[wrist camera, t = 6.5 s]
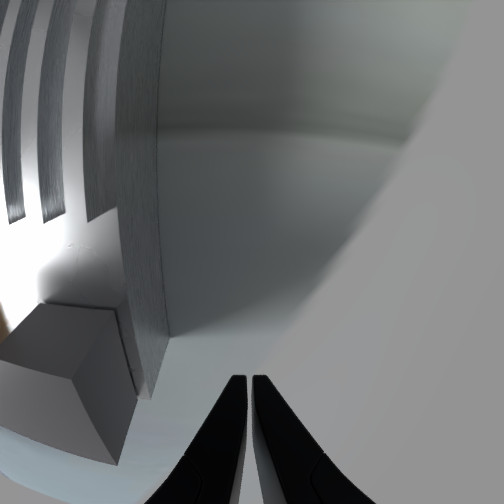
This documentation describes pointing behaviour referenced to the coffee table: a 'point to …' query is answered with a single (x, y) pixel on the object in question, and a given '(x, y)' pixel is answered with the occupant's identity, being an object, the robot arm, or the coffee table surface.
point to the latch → (68, 381)
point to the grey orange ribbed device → (83, 168)
